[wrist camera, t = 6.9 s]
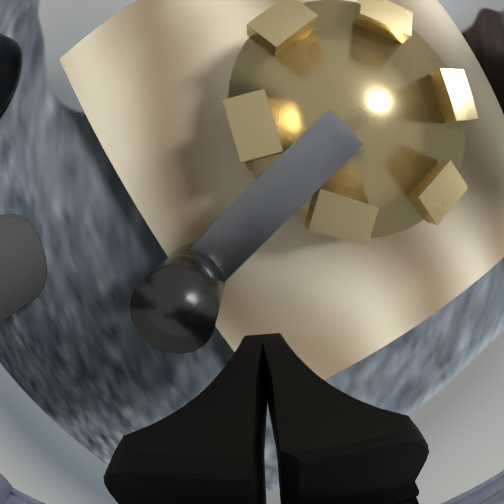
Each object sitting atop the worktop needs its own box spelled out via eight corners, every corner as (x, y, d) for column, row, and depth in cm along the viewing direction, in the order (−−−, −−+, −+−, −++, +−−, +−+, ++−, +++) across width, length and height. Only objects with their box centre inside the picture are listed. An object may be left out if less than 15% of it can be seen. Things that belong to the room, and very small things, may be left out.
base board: (361, -61, 10) (368, -75, 8) (521, 222, 14) (537, 226, 12) (73, 66, 12) (57, 58, 10) (272, 386, 17) (274, 405, 15)
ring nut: (470, 136, 12) (546, 130, 6) (264, 348, 14) (269, 430, 9) (335, -10, 10) (368, -75, 5) (107, 204, 12) (31, 222, 7)
